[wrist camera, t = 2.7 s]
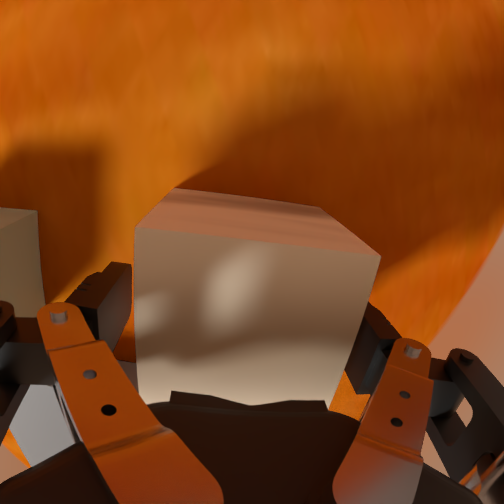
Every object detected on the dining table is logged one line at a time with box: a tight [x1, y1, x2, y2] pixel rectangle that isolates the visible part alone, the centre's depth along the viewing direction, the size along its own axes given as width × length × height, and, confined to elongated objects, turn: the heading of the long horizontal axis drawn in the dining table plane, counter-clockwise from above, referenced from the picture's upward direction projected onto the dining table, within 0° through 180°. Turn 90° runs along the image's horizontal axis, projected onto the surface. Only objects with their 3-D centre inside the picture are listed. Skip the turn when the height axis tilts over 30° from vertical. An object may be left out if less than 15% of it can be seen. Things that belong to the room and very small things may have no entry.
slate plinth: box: [9, 360, 139, 467], centre depth 15 cm, size 12×12×3 cm
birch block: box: [134, 188, 381, 408], centre depth 11 cm, size 6×6×6 cm
